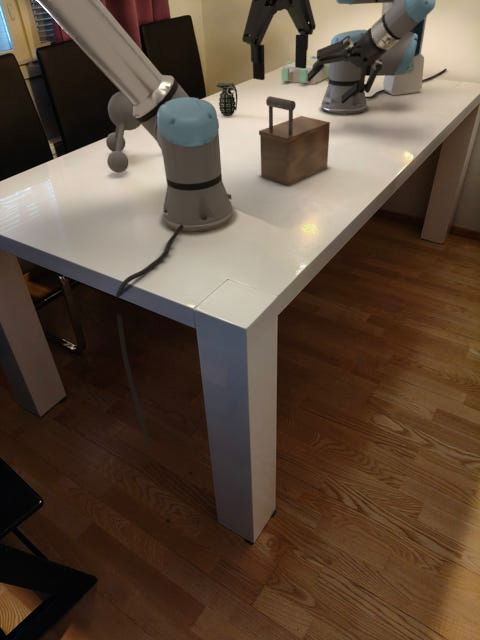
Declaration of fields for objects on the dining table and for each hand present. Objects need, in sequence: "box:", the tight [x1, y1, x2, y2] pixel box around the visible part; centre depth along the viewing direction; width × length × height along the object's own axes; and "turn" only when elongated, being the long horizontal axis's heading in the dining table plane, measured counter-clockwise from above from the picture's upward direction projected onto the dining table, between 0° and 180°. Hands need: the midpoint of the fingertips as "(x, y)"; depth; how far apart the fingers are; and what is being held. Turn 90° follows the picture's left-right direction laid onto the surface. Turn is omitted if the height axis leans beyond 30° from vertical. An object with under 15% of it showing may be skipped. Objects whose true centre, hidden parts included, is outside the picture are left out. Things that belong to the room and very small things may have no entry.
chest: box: [259, 126, 331, 186], centre depth 122 cm, size 15×9×10 cm, turn 134°
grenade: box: [215, 82, 238, 117], centre depth 166 cm, size 7×6×10 cm
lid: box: [258, 95, 331, 143], centre depth 116 cm, size 16×9×8 cm, turn 134°
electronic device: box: [382, 15, 428, 96], centre depth 174 cm, size 12×8×30 cm, turn 105°
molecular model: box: [105, 90, 142, 174], centre depth 130 cm, size 24×22×30 cm
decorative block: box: [281, 55, 330, 85], centre depth 206 cm, size 26×6×20 cm
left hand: (280, 73), depth 108 cm, fingers open, 13 cm apart
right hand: (325, 89), depth 148 cm, fingers open, 13 cm apart
